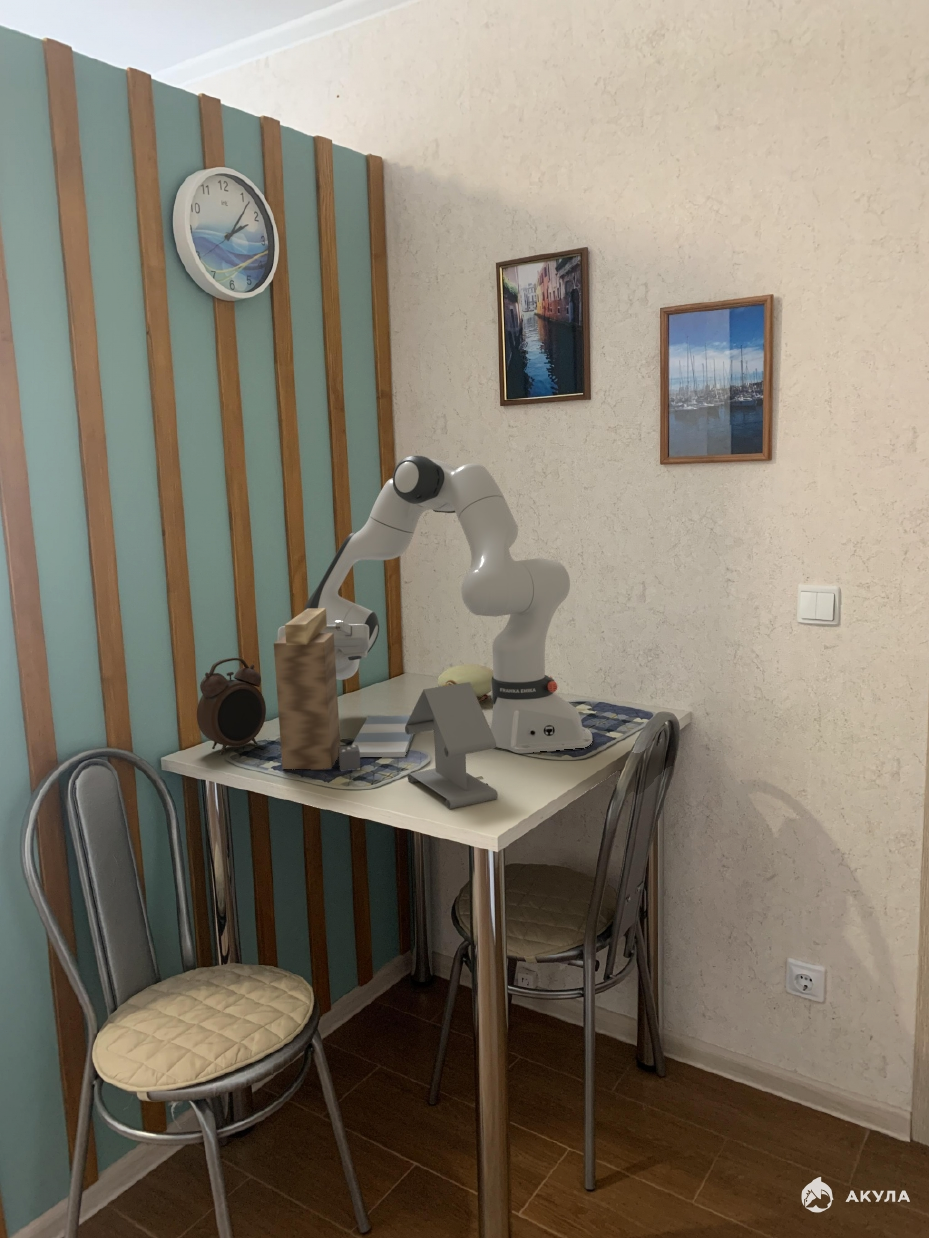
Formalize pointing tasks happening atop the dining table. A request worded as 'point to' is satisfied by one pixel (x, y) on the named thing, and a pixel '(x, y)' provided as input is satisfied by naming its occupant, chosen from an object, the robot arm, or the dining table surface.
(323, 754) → the walnut stand
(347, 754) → the die
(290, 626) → the light wooden block
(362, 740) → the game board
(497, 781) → the dining table surface
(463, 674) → the flask
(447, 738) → the phone stand
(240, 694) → the alarm clock
